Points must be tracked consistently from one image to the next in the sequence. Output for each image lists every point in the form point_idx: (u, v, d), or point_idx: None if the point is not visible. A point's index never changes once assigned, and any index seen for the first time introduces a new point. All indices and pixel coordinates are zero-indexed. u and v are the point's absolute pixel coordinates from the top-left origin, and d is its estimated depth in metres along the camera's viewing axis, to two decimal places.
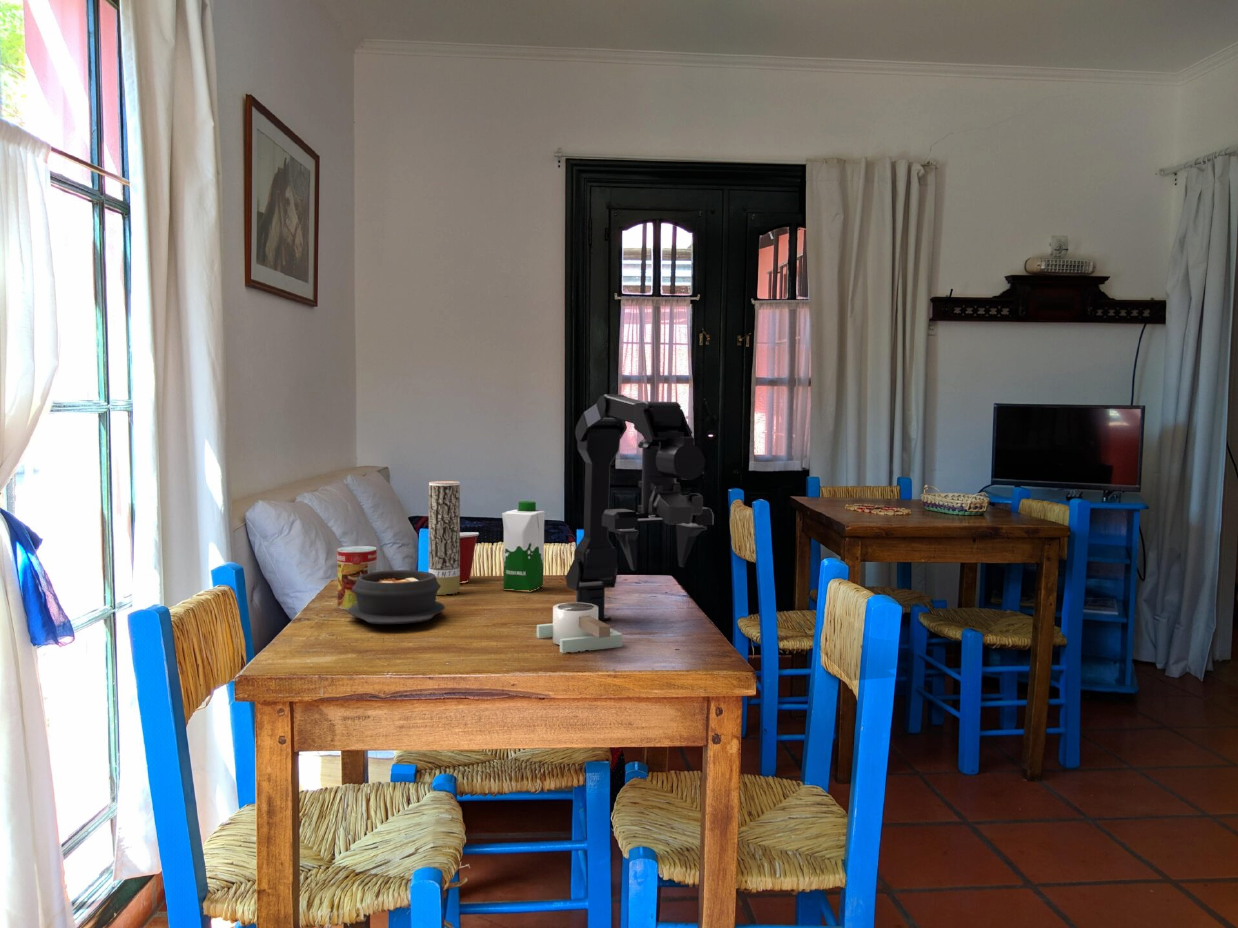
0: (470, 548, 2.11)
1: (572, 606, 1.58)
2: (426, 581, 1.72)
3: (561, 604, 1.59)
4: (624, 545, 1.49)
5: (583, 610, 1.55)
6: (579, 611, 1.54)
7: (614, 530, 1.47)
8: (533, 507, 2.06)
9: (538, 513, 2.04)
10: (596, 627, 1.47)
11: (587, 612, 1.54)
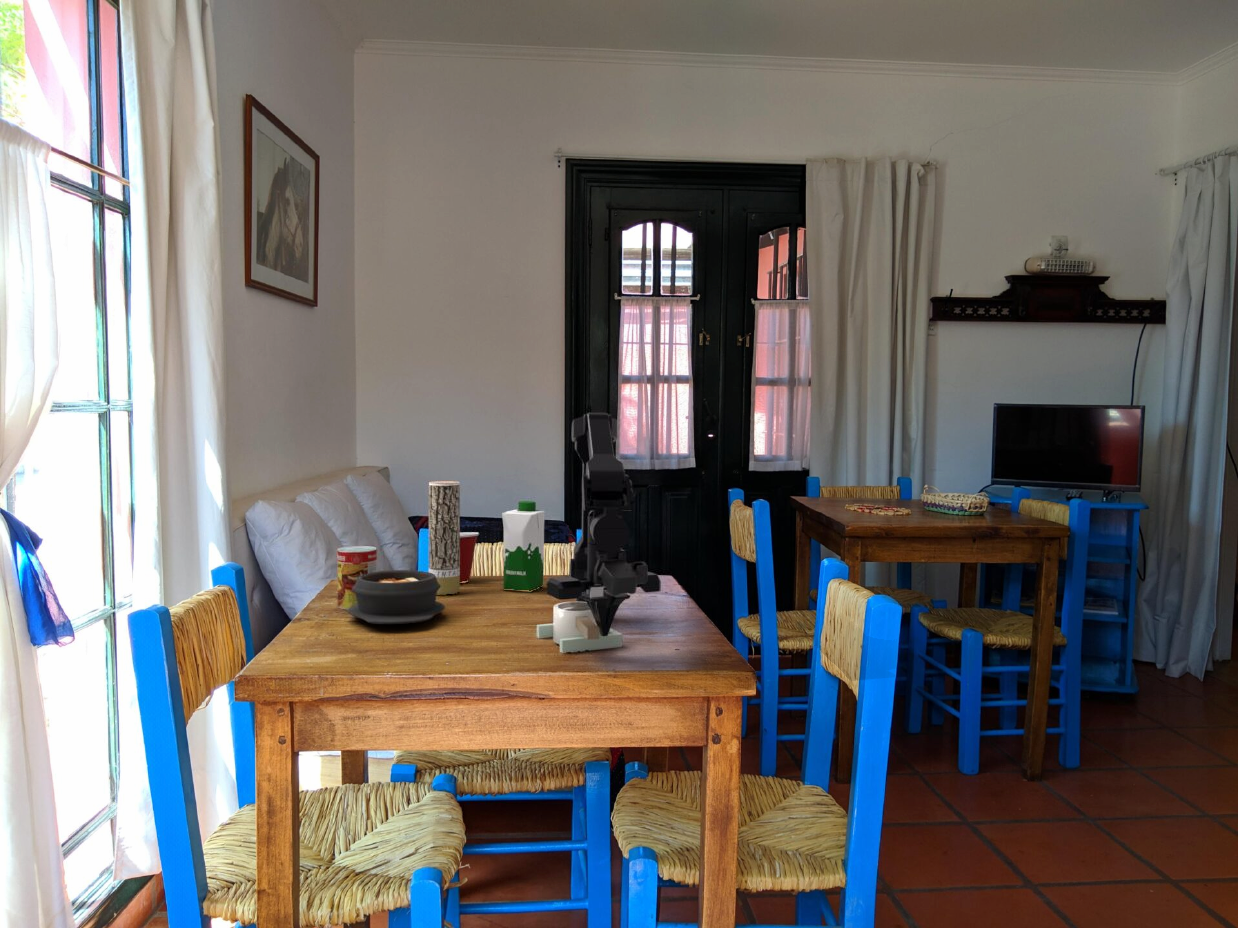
0: (470, 548, 2.11)
1: (573, 605, 1.58)
2: (426, 581, 1.72)
3: (563, 603, 1.60)
4: (594, 611, 1.49)
5: (581, 610, 1.55)
6: (576, 611, 1.54)
7: (583, 597, 1.48)
8: (533, 507, 2.06)
9: (538, 513, 2.04)
10: (586, 628, 1.47)
11: (584, 612, 1.54)
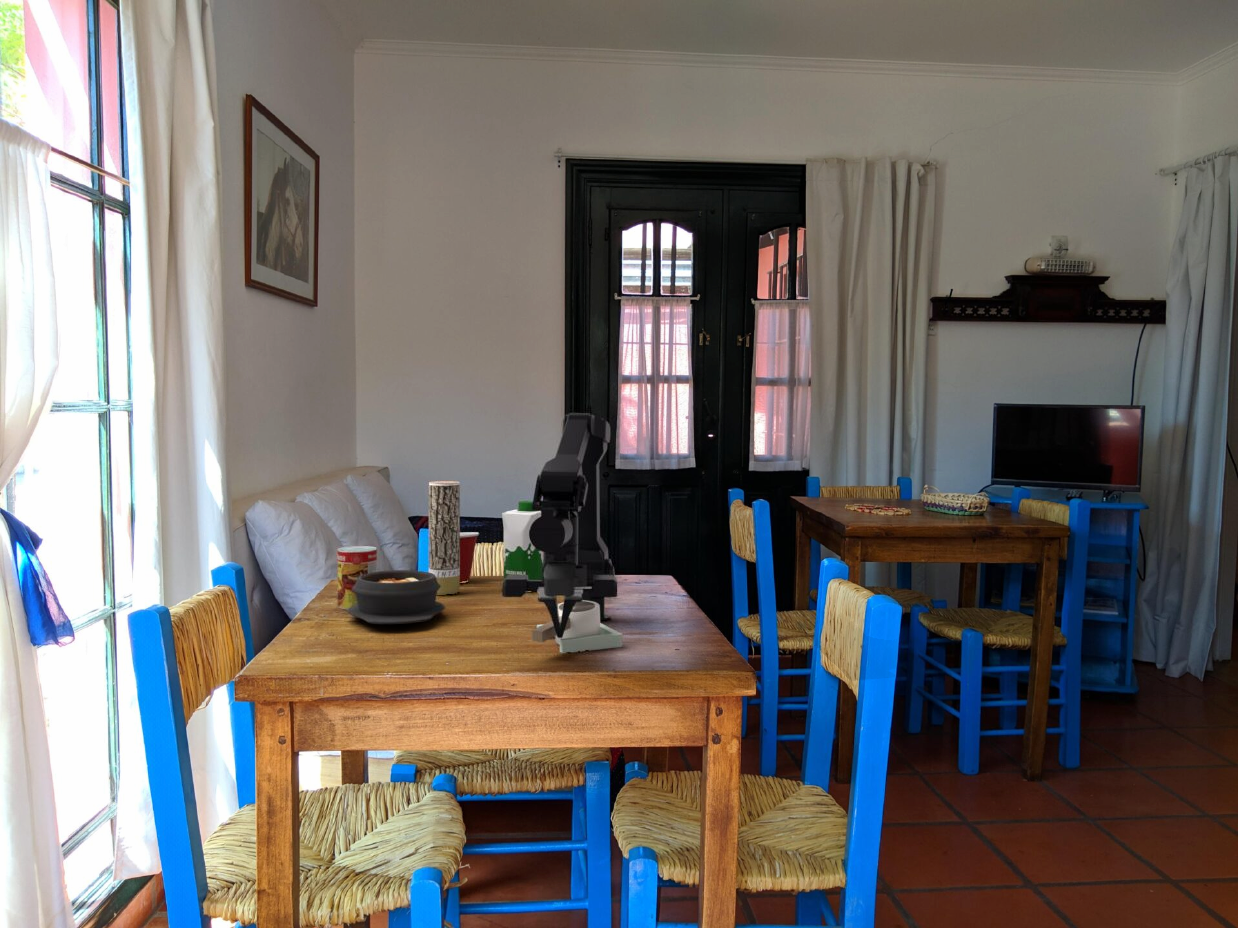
0: (470, 548, 2.11)
1: (575, 605, 1.58)
2: (426, 581, 1.72)
3: None
4: None
5: None
6: None
7: (538, 596, 1.48)
8: None
9: (538, 513, 2.04)
10: None
11: None
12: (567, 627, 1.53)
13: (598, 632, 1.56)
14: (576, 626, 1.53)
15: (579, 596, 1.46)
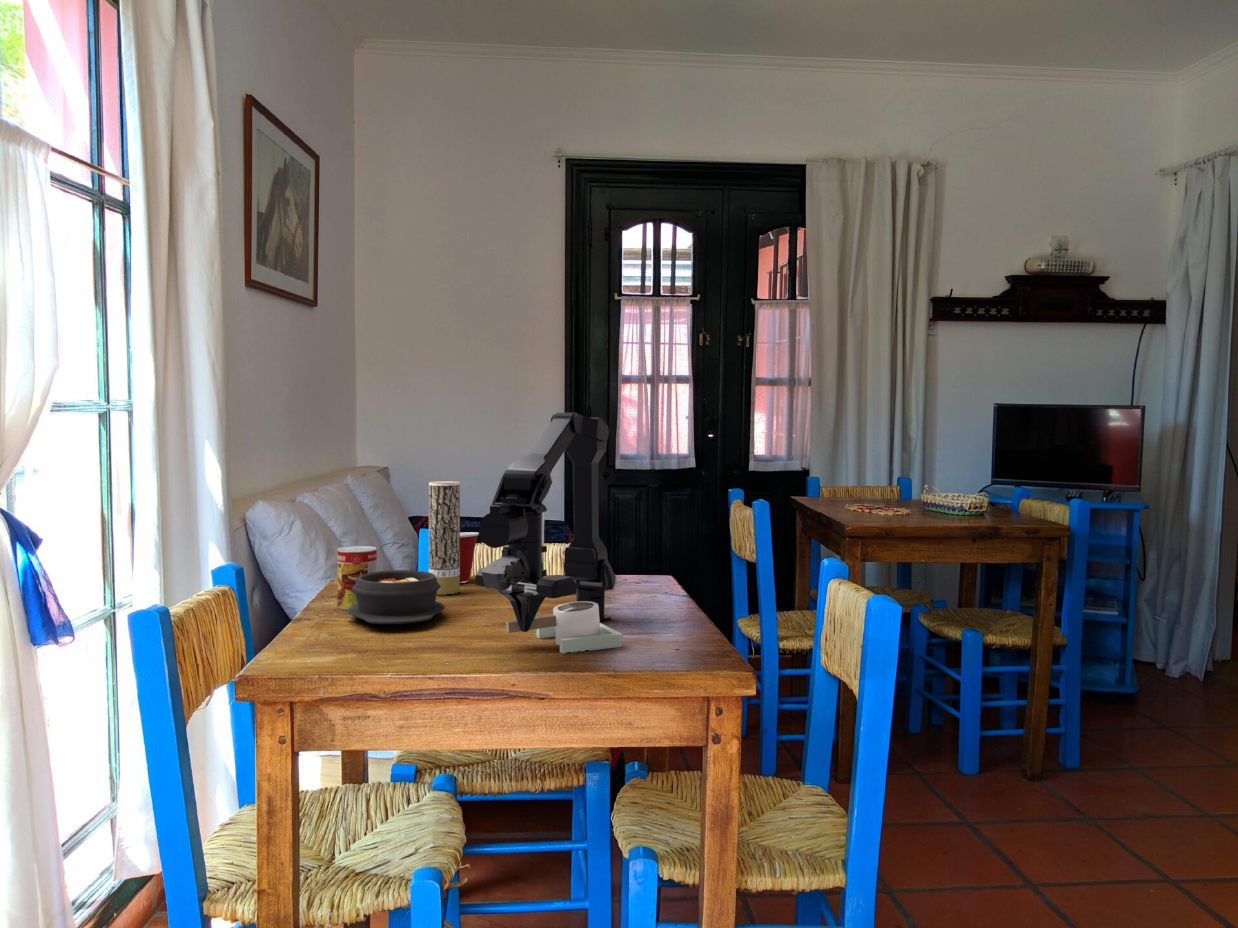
0: (470, 548, 2.11)
1: (576, 605, 1.57)
2: (426, 581, 1.72)
3: (587, 602, 1.59)
4: None
5: (557, 609, 1.56)
6: (555, 608, 1.57)
7: None
8: None
9: None
10: None
11: (554, 611, 1.55)
12: (551, 624, 1.55)
13: (585, 635, 1.54)
14: (559, 625, 1.54)
15: (532, 593, 1.49)
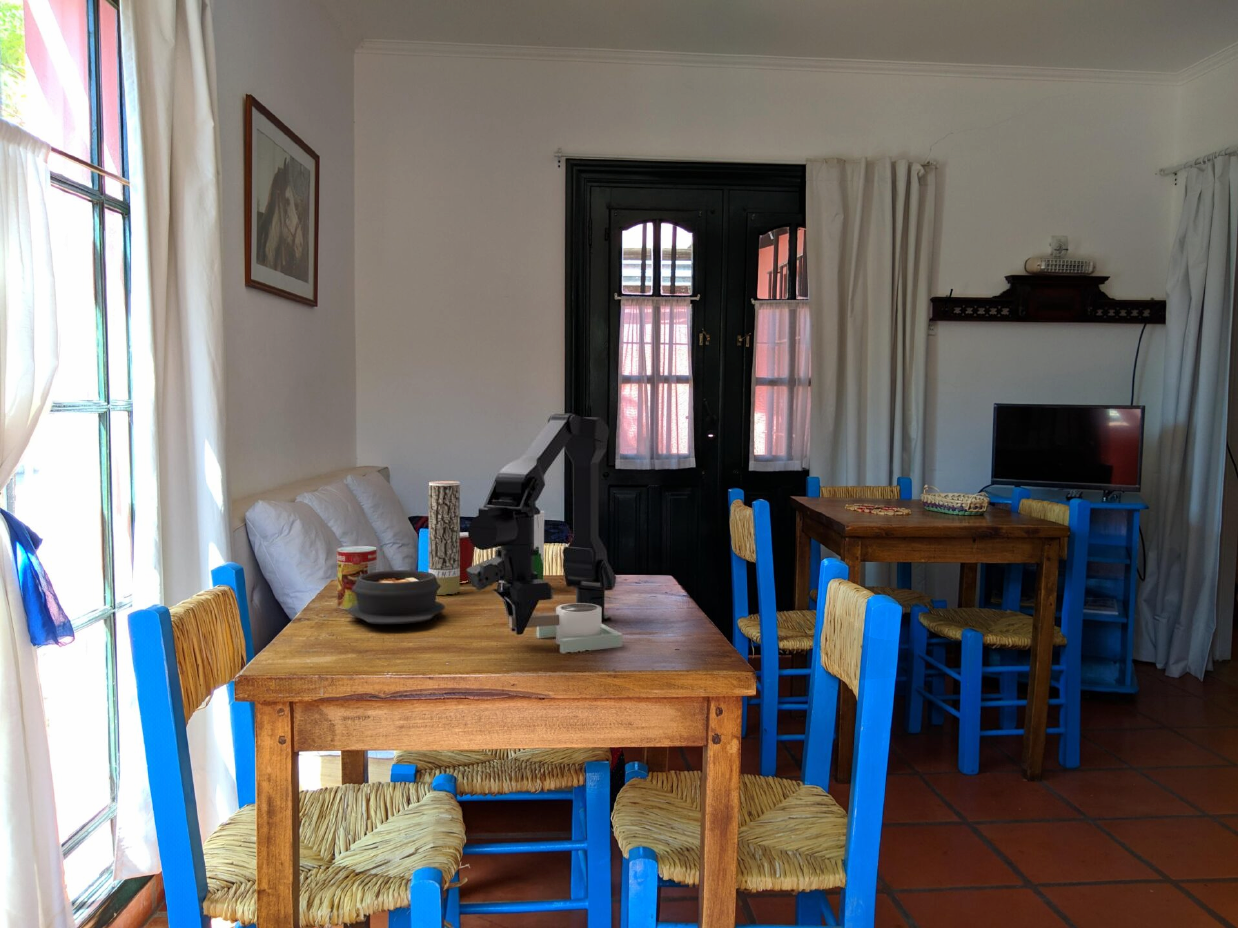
0: (470, 548, 2.11)
1: (579, 606, 1.58)
2: (426, 581, 1.72)
3: (590, 604, 1.59)
4: None
5: (561, 608, 1.56)
6: (558, 608, 1.57)
7: None
8: None
9: None
10: None
11: (558, 610, 1.55)
12: (554, 623, 1.55)
13: None
14: (562, 624, 1.54)
15: None
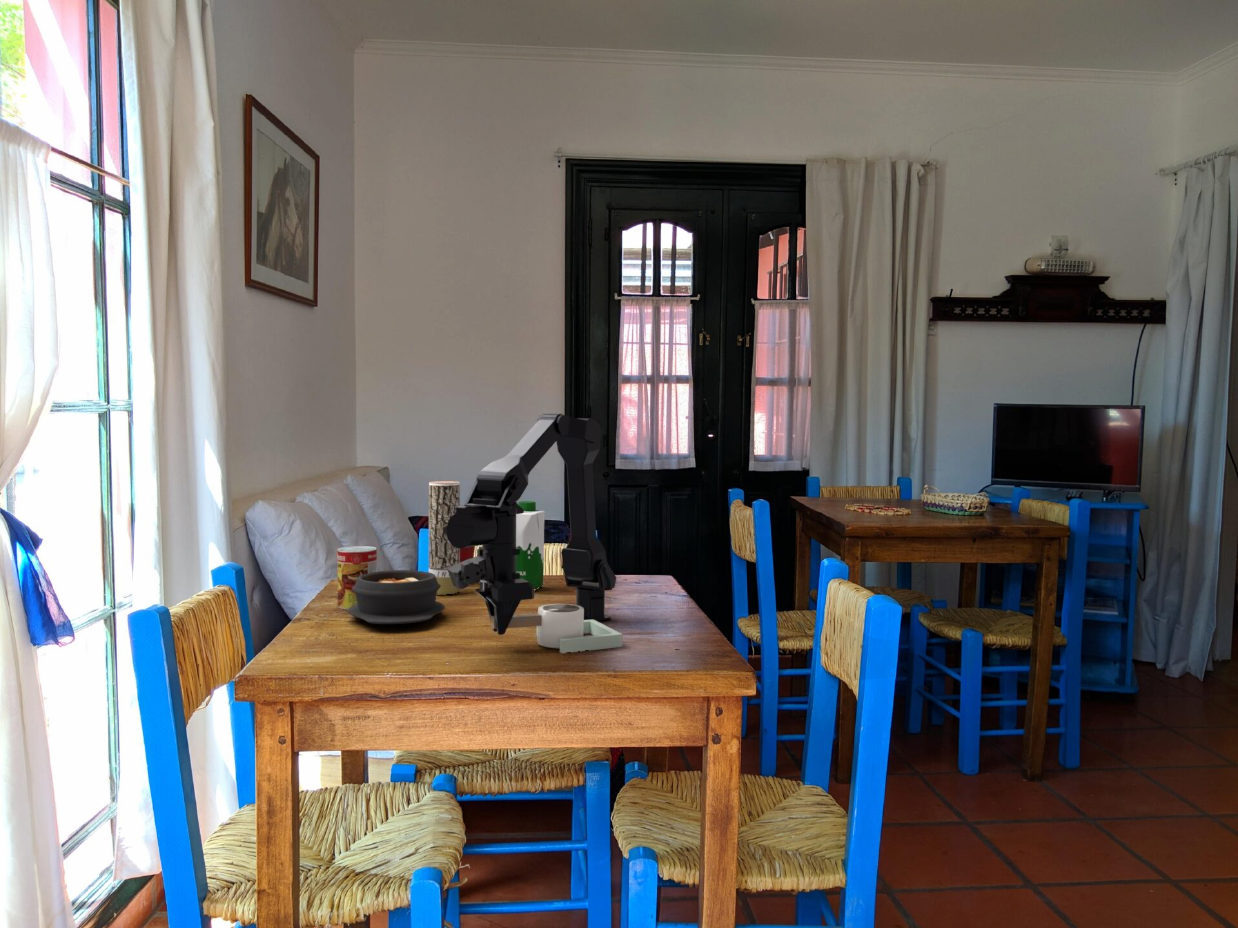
0: (470, 548, 2.11)
1: (561, 607, 1.57)
2: (426, 581, 1.72)
3: (572, 605, 1.59)
4: None
5: (543, 609, 1.55)
6: (540, 608, 1.55)
7: None
8: (533, 507, 2.06)
9: (538, 513, 2.04)
10: None
11: (540, 611, 1.54)
12: (536, 624, 1.53)
13: (570, 637, 1.53)
14: (545, 625, 1.53)
15: None
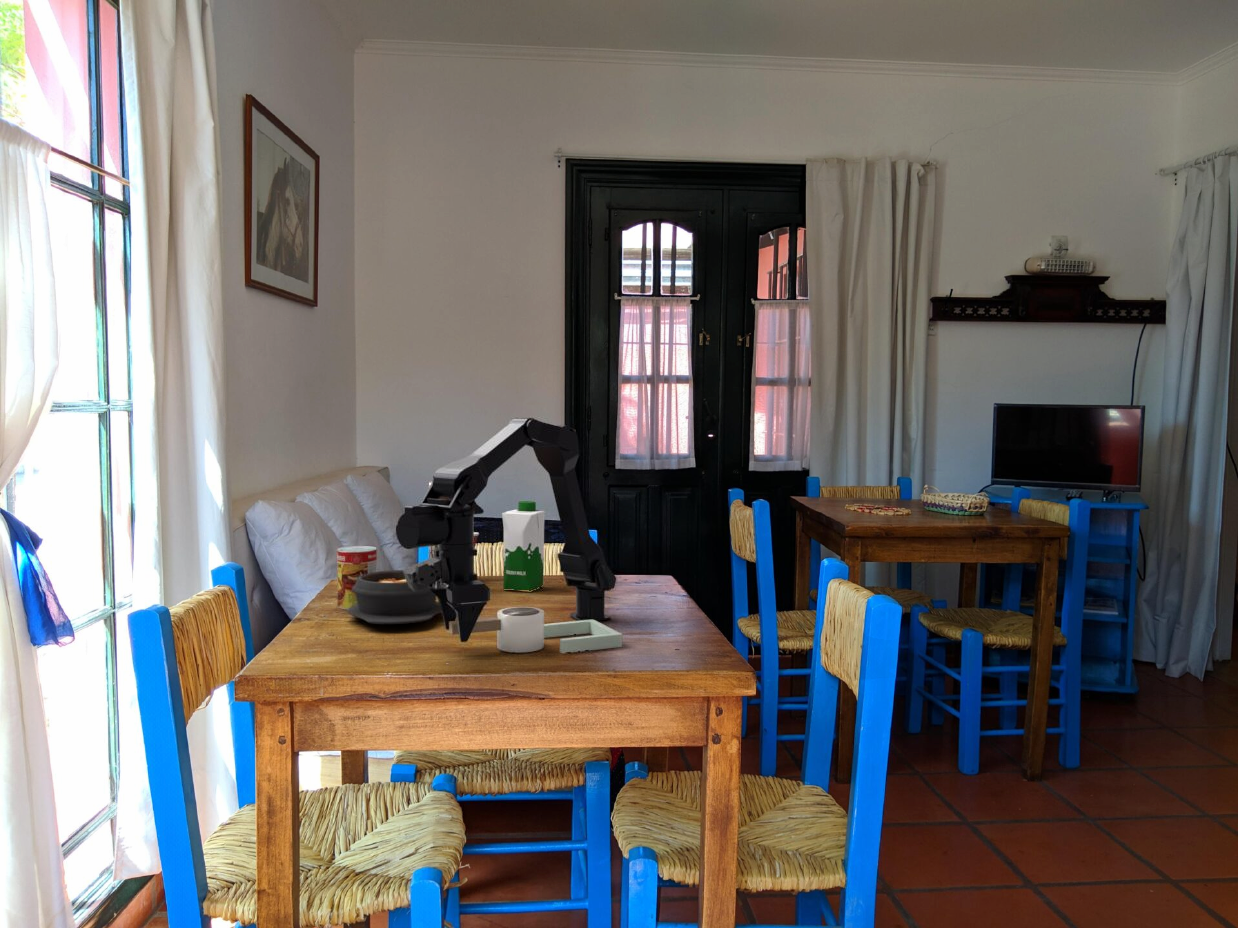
0: None
1: (521, 610, 1.54)
2: None
3: (532, 608, 1.56)
4: None
5: (503, 613, 1.52)
6: (499, 612, 1.53)
7: None
8: (533, 507, 2.06)
9: (538, 513, 2.04)
10: None
11: (499, 615, 1.51)
12: (495, 628, 1.51)
13: (531, 641, 1.50)
14: (505, 629, 1.50)
15: None
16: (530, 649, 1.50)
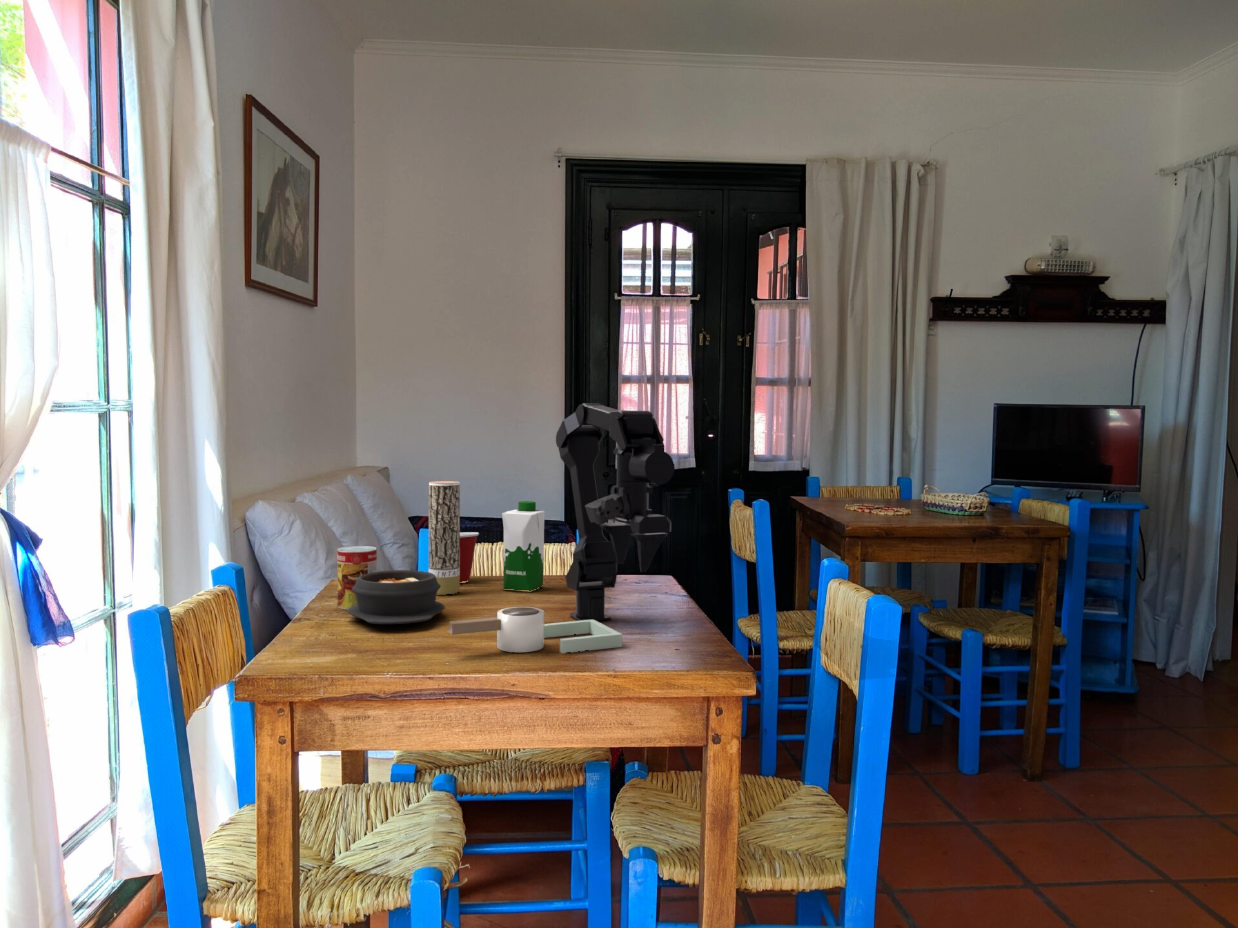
0: (470, 548, 2.11)
1: (521, 610, 1.54)
2: (426, 581, 1.72)
3: (532, 608, 1.56)
4: None
5: (503, 613, 1.52)
6: (499, 612, 1.53)
7: None
8: (533, 507, 2.06)
9: (538, 513, 2.04)
10: None
11: (499, 615, 1.51)
12: (495, 628, 1.51)
13: (531, 641, 1.50)
14: (505, 629, 1.50)
15: None
16: (530, 649, 1.50)
